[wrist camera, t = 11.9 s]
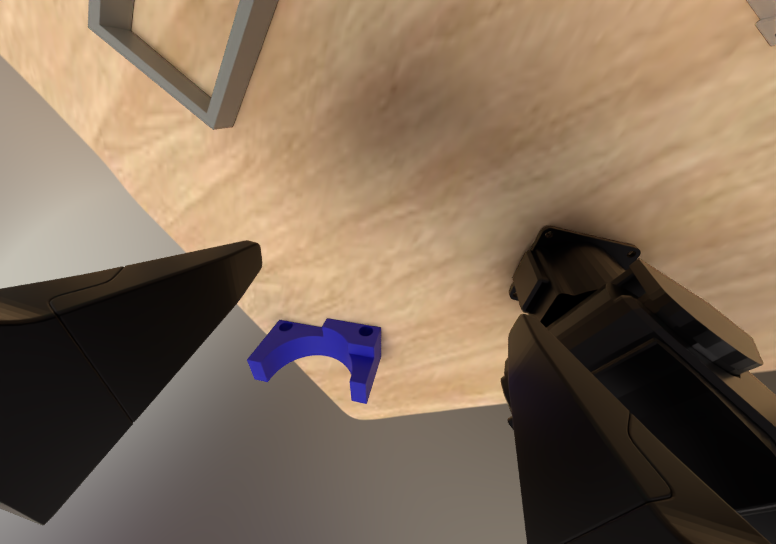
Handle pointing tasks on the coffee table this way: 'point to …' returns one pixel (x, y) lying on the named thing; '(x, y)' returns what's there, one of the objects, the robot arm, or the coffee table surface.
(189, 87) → the frame
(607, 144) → the coffee table surface
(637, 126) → the coffee table surface
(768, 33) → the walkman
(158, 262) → the robot arm
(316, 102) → the coffee table surface
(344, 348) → the cable clip
